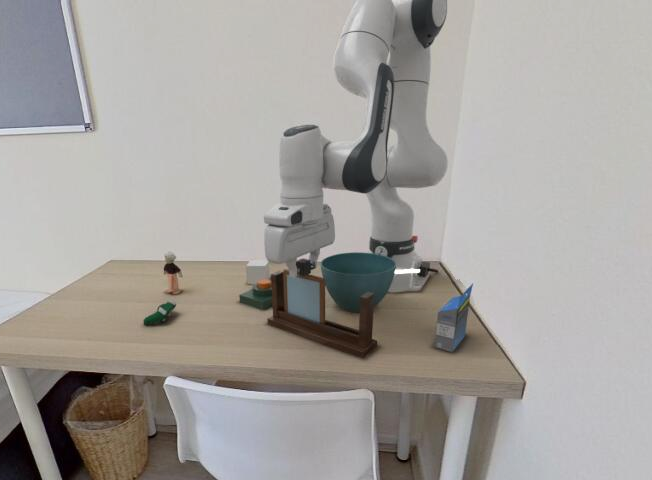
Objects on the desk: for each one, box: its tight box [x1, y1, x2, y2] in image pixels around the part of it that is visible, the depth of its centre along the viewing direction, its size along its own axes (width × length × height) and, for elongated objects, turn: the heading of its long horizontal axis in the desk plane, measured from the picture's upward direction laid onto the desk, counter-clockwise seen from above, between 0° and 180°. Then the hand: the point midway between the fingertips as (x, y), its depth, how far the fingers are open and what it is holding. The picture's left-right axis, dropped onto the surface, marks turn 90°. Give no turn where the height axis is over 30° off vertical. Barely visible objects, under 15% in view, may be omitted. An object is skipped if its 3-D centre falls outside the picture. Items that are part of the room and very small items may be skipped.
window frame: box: [266, 270, 379, 359], centre depth 87 cm, size 6×26×12 cm, turn 48°
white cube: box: [245, 259, 271, 285], centre depth 123 cm, size 6×6×6 cm
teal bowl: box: [320, 251, 396, 315], centre depth 100 cm, size 18×18×12 cm
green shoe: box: [143, 298, 177, 326], centre depth 100 cm, size 9×4×6 cm
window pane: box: [282, 258, 326, 324], centre depth 88 cm, size 2×11×15 cm, turn 48°
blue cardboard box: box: [433, 283, 474, 353], centre depth 81 cm, size 9×4×12 cm, turn 140°
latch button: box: [258, 279, 271, 289], centre depth 108 cm, size 4×4×2 cm
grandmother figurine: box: [162, 251, 183, 295], centre depth 116 cm, size 8×4×13 cm, turn 68°
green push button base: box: [238, 283, 273, 311], centre depth 109 cm, size 11×9×4 cm
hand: (303, 272), depth 87 cm, fingers open, 5 cm apart
